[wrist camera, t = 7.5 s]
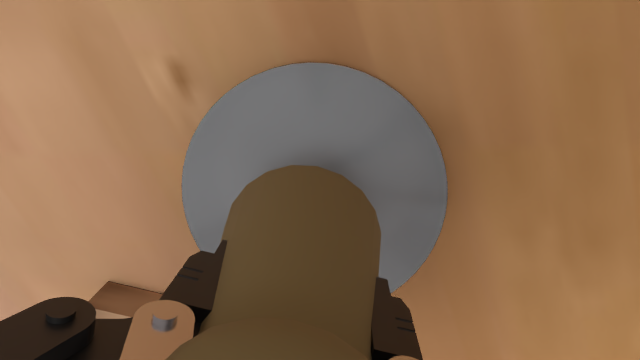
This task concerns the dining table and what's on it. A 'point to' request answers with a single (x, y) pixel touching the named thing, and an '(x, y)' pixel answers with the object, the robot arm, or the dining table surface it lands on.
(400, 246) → the slate coaster
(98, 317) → the holder board
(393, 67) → the dining table surface
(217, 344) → the cork
